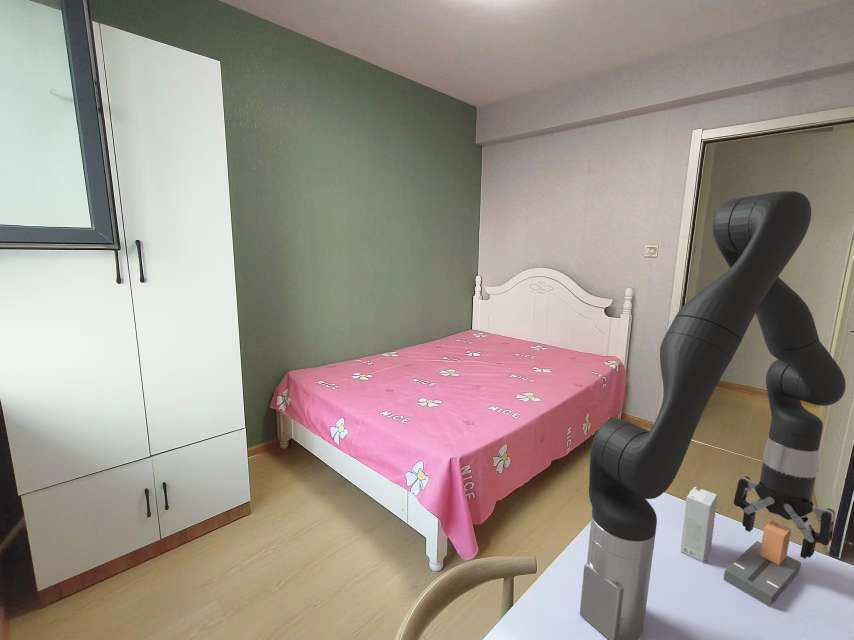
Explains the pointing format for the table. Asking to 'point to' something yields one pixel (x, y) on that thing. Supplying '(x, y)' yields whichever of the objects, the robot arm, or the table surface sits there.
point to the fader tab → (775, 542)
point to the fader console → (761, 574)
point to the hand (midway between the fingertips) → (775, 542)
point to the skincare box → (698, 523)
